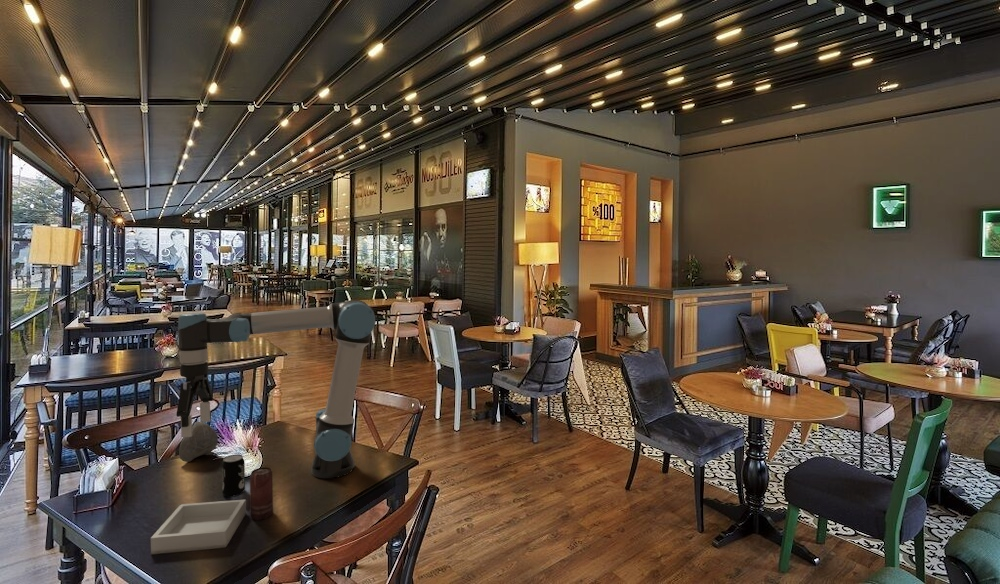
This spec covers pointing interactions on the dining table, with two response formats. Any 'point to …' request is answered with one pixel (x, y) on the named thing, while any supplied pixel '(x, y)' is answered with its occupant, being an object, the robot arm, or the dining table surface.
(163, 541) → the bus tub
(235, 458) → the beverage can
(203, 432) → the decorative stone
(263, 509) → the can
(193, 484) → the dining table surface
